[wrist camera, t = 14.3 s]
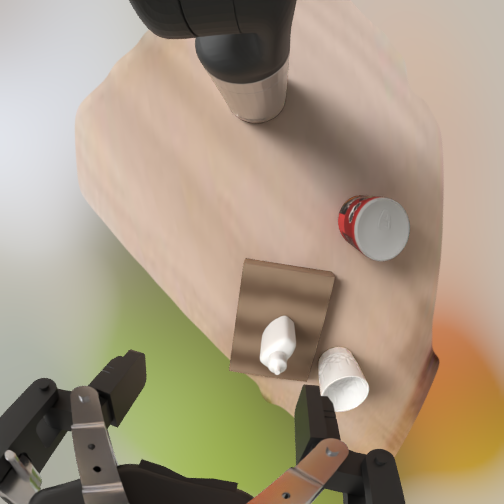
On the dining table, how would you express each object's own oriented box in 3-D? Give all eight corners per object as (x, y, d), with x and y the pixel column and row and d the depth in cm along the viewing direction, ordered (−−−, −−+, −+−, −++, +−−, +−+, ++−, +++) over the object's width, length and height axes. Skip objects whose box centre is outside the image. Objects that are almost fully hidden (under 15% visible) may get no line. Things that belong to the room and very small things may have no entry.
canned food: (377, 192, 41) (406, 193, 31) (384, 240, 43) (412, 255, 32) (333, 198, 42) (350, 202, 32) (340, 248, 44) (359, 267, 33)
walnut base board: (245, 258, 45) (243, 263, 43) (331, 271, 45) (334, 277, 42) (231, 361, 50) (229, 370, 47) (305, 372, 49) (306, 381, 46)
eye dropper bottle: (298, 335, 44) (303, 380, 33) (265, 344, 45) (261, 389, 33) (291, 312, 44) (294, 353, 32) (257, 321, 44) (250, 364, 33)
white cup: (308, 355, 48) (313, 389, 39) (347, 336, 47) (361, 368, 37) (323, 383, 50) (330, 418, 40) (361, 366, 48) (374, 399, 38)
